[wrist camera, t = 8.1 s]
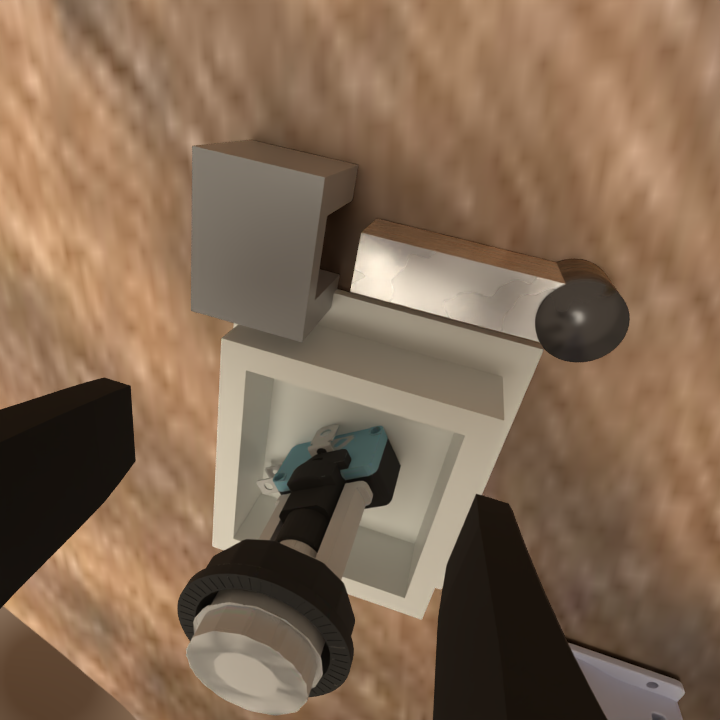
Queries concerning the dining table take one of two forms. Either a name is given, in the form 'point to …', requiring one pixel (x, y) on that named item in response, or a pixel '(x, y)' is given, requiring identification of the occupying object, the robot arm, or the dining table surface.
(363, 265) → the pin
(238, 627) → the push button
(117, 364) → the dining table surface
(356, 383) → the dock
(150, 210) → the dining table surface
